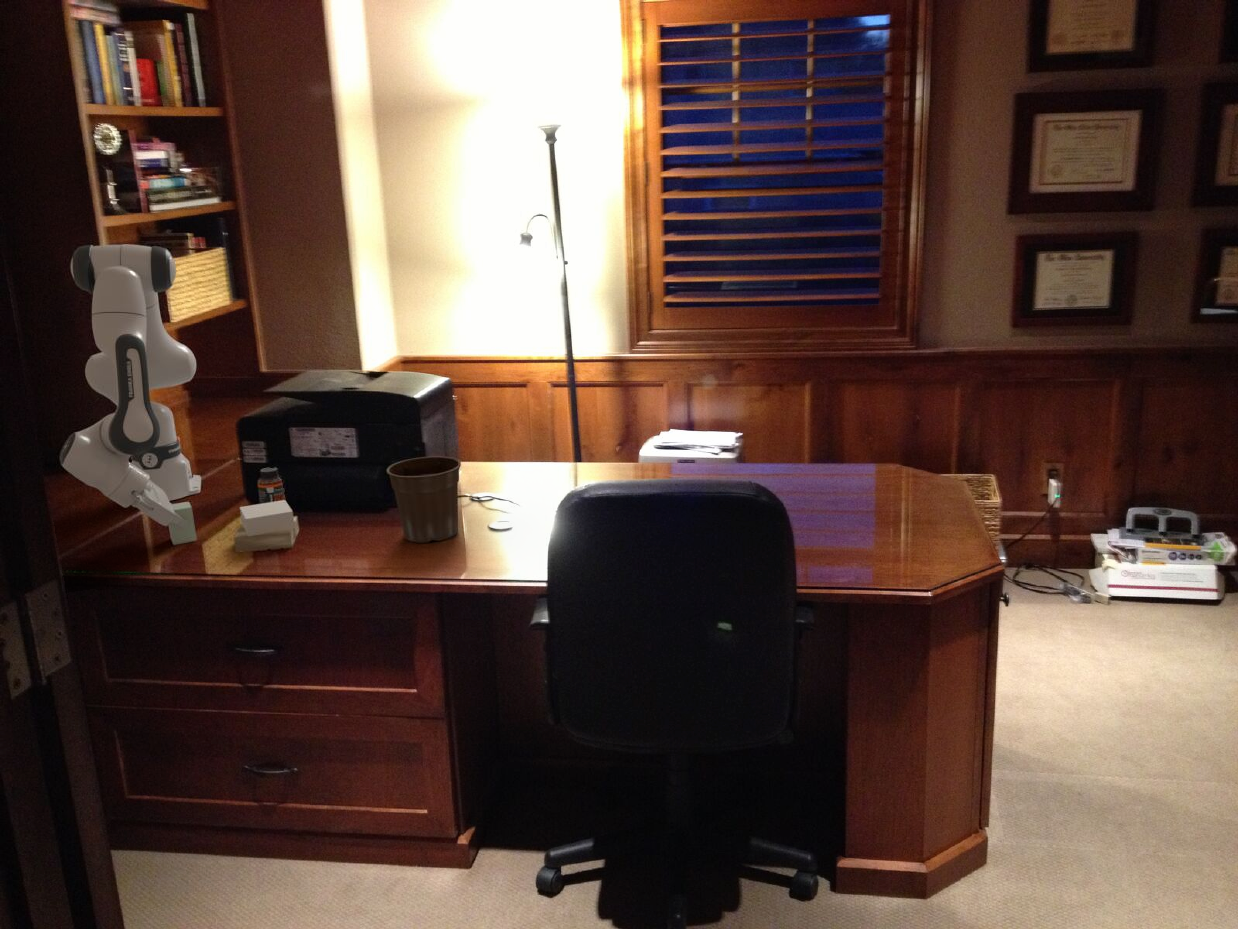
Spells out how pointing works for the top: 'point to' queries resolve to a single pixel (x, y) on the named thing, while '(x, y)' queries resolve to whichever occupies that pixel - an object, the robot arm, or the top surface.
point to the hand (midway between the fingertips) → (183, 520)
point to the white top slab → (267, 518)
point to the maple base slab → (266, 539)
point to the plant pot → (427, 497)
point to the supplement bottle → (270, 486)
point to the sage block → (188, 531)
